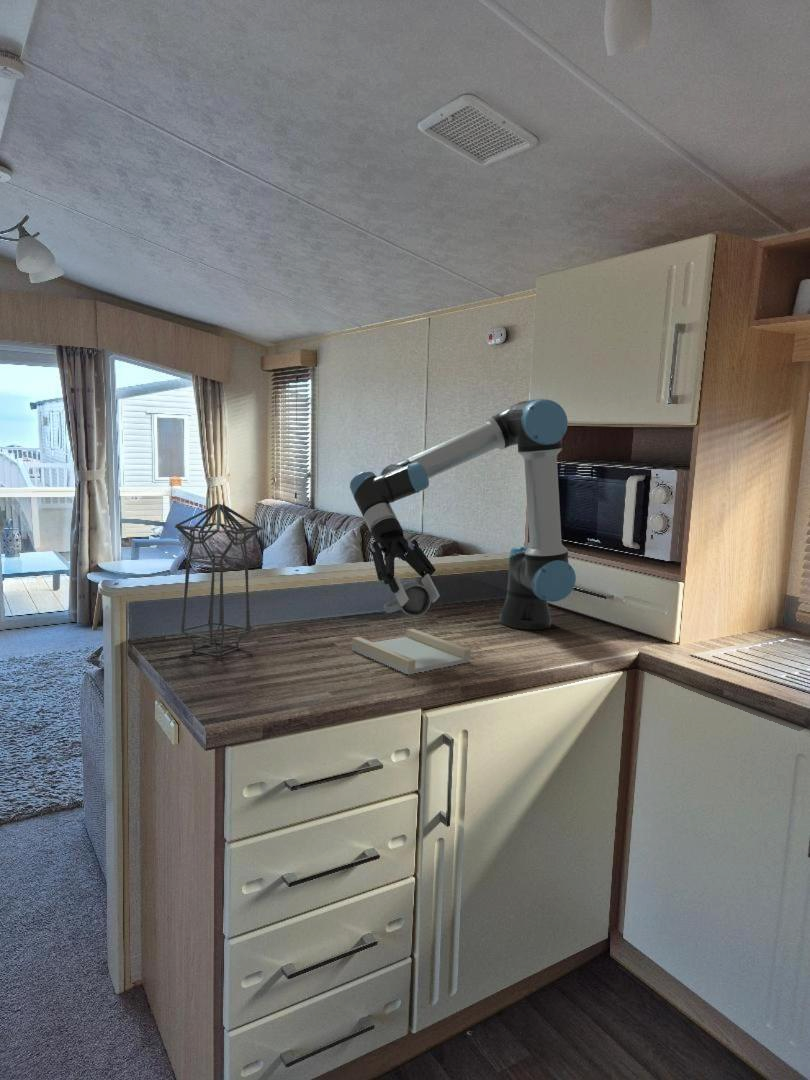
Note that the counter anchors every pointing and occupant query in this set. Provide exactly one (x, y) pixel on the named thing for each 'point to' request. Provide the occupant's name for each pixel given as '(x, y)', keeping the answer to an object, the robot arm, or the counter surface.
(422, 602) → the ceramic mug
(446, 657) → the rail tray
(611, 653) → the counter surface
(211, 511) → the geometric lantern
